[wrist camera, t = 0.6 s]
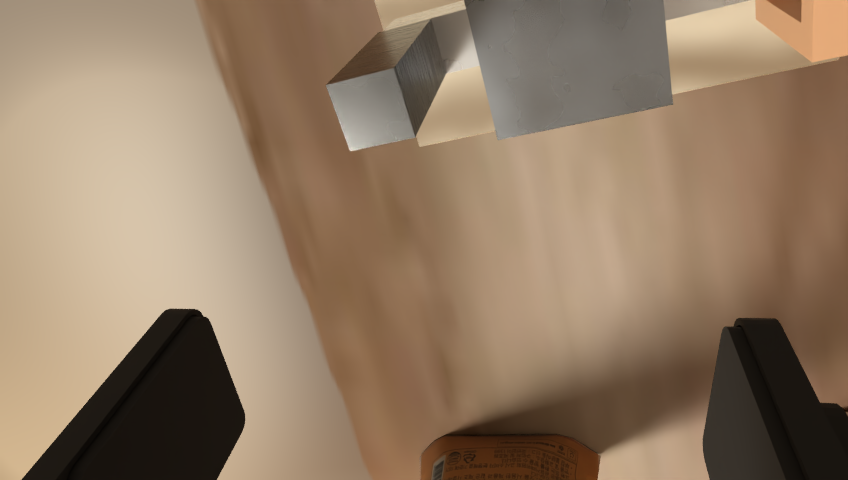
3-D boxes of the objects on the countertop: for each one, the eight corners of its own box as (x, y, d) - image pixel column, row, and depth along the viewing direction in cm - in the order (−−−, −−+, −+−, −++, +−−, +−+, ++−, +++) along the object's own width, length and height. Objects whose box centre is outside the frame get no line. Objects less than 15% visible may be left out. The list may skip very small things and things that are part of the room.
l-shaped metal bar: (897, -52, 23) (1082, -5, 15) (405, 70, 29) (350, 151, 21) (902, -122, 22) (1106, -112, 14) (390, 20, 28) (325, 85, 20)
